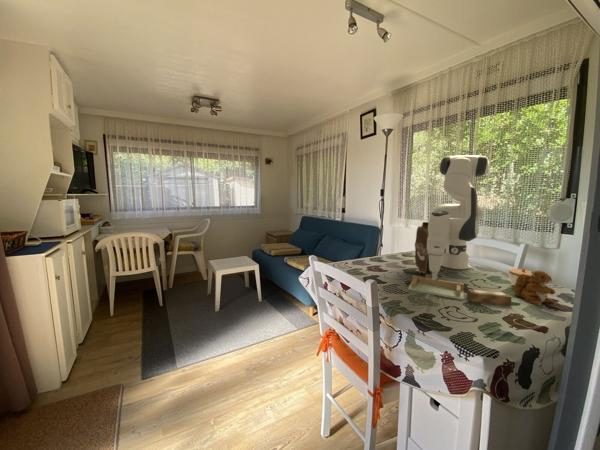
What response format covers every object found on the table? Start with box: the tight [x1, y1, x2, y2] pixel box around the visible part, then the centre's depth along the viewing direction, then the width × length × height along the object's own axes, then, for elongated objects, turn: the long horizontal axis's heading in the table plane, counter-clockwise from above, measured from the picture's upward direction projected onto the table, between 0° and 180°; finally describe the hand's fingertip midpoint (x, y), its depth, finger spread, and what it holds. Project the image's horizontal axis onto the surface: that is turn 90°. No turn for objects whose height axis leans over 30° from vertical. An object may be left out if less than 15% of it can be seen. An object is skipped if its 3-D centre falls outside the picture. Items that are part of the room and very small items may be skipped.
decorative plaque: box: [414, 221, 432, 277], centre depth 137 cm, size 30×3×30 cm, turn 168°
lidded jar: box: [508, 268, 532, 287], centre depth 121 cm, size 11×11×9 cm
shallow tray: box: [407, 274, 465, 301], centre depth 117 cm, size 11×22×5 cm, turn 57°
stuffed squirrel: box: [512, 270, 556, 307], centre depth 107 cm, size 10×14×13 cm
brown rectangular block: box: [466, 288, 512, 306], centre depth 106 cm, size 14×5×4 cm, turn 73°
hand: (435, 276), depth 116 cm, fingers open, 8 cm apart
